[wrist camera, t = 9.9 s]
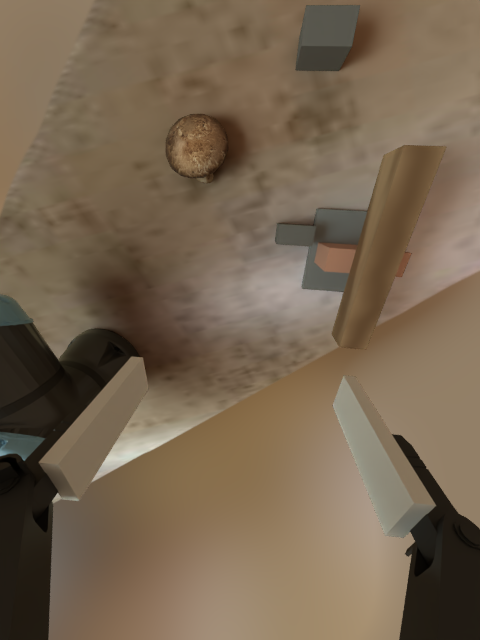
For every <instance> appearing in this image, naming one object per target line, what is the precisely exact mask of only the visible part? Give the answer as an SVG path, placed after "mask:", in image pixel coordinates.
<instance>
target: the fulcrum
mask: <svg viewBox="0 0 480 640" xmlns="http://www.w3.org/2000/svg"><path fill="white" fill-rule="evenodd" d="M366 214H367V211H351V210H332V209H316V215H315V220H314V225H313V226H316V230H315V235H314V240H313V245H312V246H309V251H308V256H307V261H306V266H305V272H304V277H303V282H302V289H312V290H325V291H338V292H344V290H345V286H346V283H347V279H348V276H349V273H350V269H351V266H352V262H353V259H354V255H355V252H356V249H357V245H358V242H359V238H360V235H361V231H362V228H363V225H364V221H365V218H366ZM410 256H411V253H408V252H405V253H404V255H403V258H402V260H401V263H400V265H399V268H398V270H397V273H396V276H395V277H402V275H403V273H404V270H405V268H406V266H407V263H408V261H409V258H410Z"/></svg>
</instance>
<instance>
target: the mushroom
mask: <svg viewBox="0 0 480 640" xmlns="http://www.w3.org/2000/svg"><path fill="white" fill-rule="evenodd" d="M227 151H228V142H227V135H226V132H225V130H224V129H223V127H222V126H221V125H220V124H219V122H218V121H217V120H216V119H214V118H212V117H210V116H207V115H204V114H190V115H188V116H185V117H183V118H181V119H178V121H177V122H176V123H175V124H174V125H173V126H172V127H171V129H170V131H169V133H168V136H167V138H166V156H167V159H168V162H169V164H170V166H171V168H172V169H173V170H174V171H175V172H177V173H178V174H179V175H181V176H184V177H188V178H196V179H197V180H198V181H200V182H202V183H206V184H207V183H210V182H212V181H213V179H214V176H213V173H214V172H215V171H216V170H217V169H218V168H219V166H220V165H221V164H222V163H223V161H224V158H225V156H226V153H227Z"/></svg>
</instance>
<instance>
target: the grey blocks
mask: <svg viewBox="0 0 480 640" xmlns="http://www.w3.org/2000/svg"><path fill="white" fill-rule="evenodd" d="M359 9H360V5H306V9H305V14H304V18H303V23H302V28H301V32H300V37H299V45H298V54H297V62H296V70H306V71H339V70H340V68H341V66H342V64H343V62H344V60H345V58H346V57H347V55H348V53H349V51H350V49H351V47H352V44H353V39H354V34H355V29H356V24H357V19H358V14H359ZM315 230H316V226H312V225H301V224H284V223H277V229H276V237H275V242H276V244H282V245H297V246H312V245H313V240H314V235H315Z"/></svg>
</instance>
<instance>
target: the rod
mask: <svg viewBox="0 0 480 640" xmlns="http://www.w3.org/2000/svg"><path fill="white" fill-rule="evenodd" d="M445 149H446V147H443V146H414V145H404V146H402V147H400V148H398V149H396V150H393V151H391V152H389V153H387V154H385V155H384V156H383V159H382V163H381V166H380V170H379V173H378V177H377V180H376V183H375V187H374V190H373V194H372V197H371V201H370V204H369V207H368V211H367V214H366V218H365V221H364V225H363V228H362V231H361V235H360V238H359V242H358V245H357V249H356V252H355V255H354V259H353V262H352V266H351V269H350V273H349V276H348V279H347V283H346V286H345V290H344V293H343V297H342V300H341V303H340V307H339V310H338V314H337V317H336V320H335V324H334V327H333V331H332V336H333V337H334V339H335V341H336V342H337V344H338V346H339V347H342V348H354V349H364V350H366V349H367V346H368V344H369V341H370V339H371V336H372V333H373V331H374V329H375V326H376V324H377V321H378V318H379V316H380V313H381V311H382V308H383V306H384V303H385V301H386V298H387V296H388V293H389V291H390V288H391V286H392V283H393V281H394V278H395V276H396V273H397V270H398V268H399V265H400V263H401V260H402V258H403V255H404V253H405V250H406V248H407V245H408V243H409V240H410V238H411V235H412V233H413V230H414V228H415V225H416V223H417V220H418V217H419V215H420V212H421V210H422V207H423V205H424V202H425V200H426V197H427V195H428V192H429V190H430V187H431V185H432V182H433V180H434V177H435V175H436V172H437V169H438V167H439V164H440V162H441V159H442V157H443V154H444V152H445Z"/></svg>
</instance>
